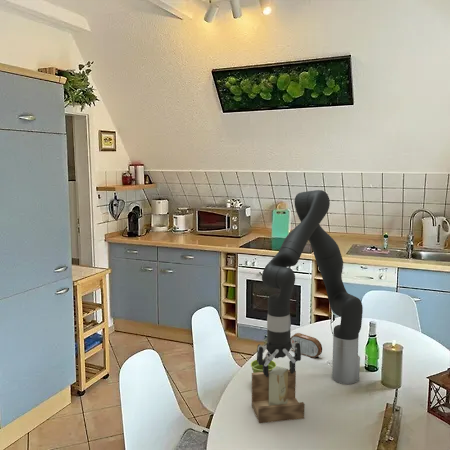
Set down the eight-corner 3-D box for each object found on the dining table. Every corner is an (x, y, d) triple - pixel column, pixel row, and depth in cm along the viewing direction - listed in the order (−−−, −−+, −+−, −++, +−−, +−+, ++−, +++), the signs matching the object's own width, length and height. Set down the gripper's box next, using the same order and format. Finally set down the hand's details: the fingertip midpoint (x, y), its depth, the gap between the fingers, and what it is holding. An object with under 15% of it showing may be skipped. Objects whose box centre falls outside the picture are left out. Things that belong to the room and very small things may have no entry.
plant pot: (274, 393, 166) (275, 371, 165) (248, 391, 168) (248, 368, 167) (277, 381, 175) (277, 359, 174) (252, 379, 177) (252, 357, 176)
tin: (322, 358, 195) (323, 339, 194) (318, 360, 193) (319, 341, 192) (292, 348, 205) (293, 330, 204) (288, 350, 203) (288, 332, 202)
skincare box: (280, 411, 150) (280, 375, 148) (267, 407, 152) (268, 372, 150) (288, 402, 155) (288, 368, 153) (276, 399, 157) (276, 365, 156)
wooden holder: (293, 401, 160) (294, 369, 159) (304, 418, 150) (304, 383, 148) (251, 406, 158) (251, 372, 156) (259, 423, 148) (259, 387, 146)
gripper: (295, 321, 154) (295, 366, 157) (254, 324, 152) (255, 371, 154) (303, 329, 147) (303, 377, 149) (260, 333, 144) (261, 382, 147)
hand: (279, 374), depth 152 cm, fingers open, 8 cm apart
